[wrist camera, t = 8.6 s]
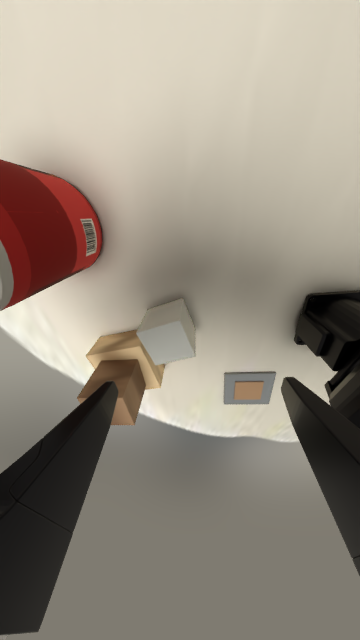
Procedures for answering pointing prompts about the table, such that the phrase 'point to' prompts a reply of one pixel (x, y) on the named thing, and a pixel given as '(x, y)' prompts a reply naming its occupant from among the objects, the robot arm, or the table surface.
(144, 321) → the grey block
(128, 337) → the oak base
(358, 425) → the robot arm
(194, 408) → the table surface
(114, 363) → the walnut block
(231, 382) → the card
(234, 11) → the table surface
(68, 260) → the canned food
